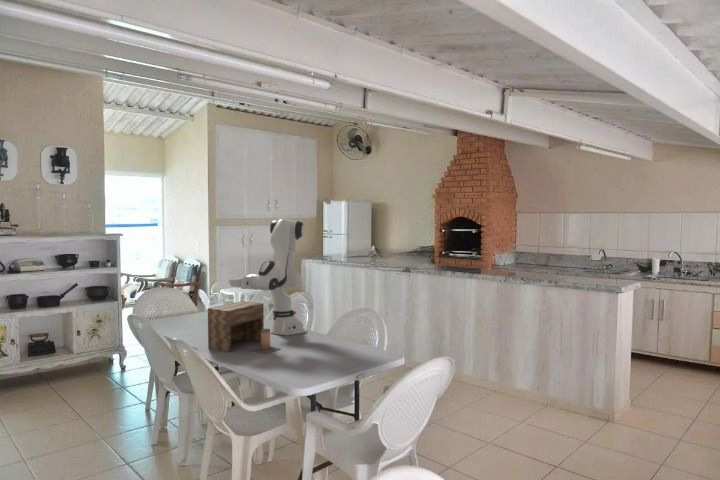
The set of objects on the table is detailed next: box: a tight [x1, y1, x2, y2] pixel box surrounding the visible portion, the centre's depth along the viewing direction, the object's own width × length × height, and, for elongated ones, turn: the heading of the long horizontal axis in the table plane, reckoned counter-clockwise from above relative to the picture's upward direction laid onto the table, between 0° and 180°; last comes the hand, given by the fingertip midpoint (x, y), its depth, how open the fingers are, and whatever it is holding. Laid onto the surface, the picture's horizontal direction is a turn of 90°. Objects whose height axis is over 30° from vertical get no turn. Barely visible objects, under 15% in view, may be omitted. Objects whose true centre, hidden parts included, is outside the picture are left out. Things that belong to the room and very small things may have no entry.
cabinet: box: [207, 300, 265, 353], centre depth 296 cm, size 16×28×22 cm, turn 149°
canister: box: [260, 328, 271, 351], centre depth 285 cm, size 5×5×11 cm
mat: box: [249, 345, 282, 355], centre depth 286 cm, size 12×12×1 cm
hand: (235, 280), depth 305 cm, fingers open, 8 cm apart
